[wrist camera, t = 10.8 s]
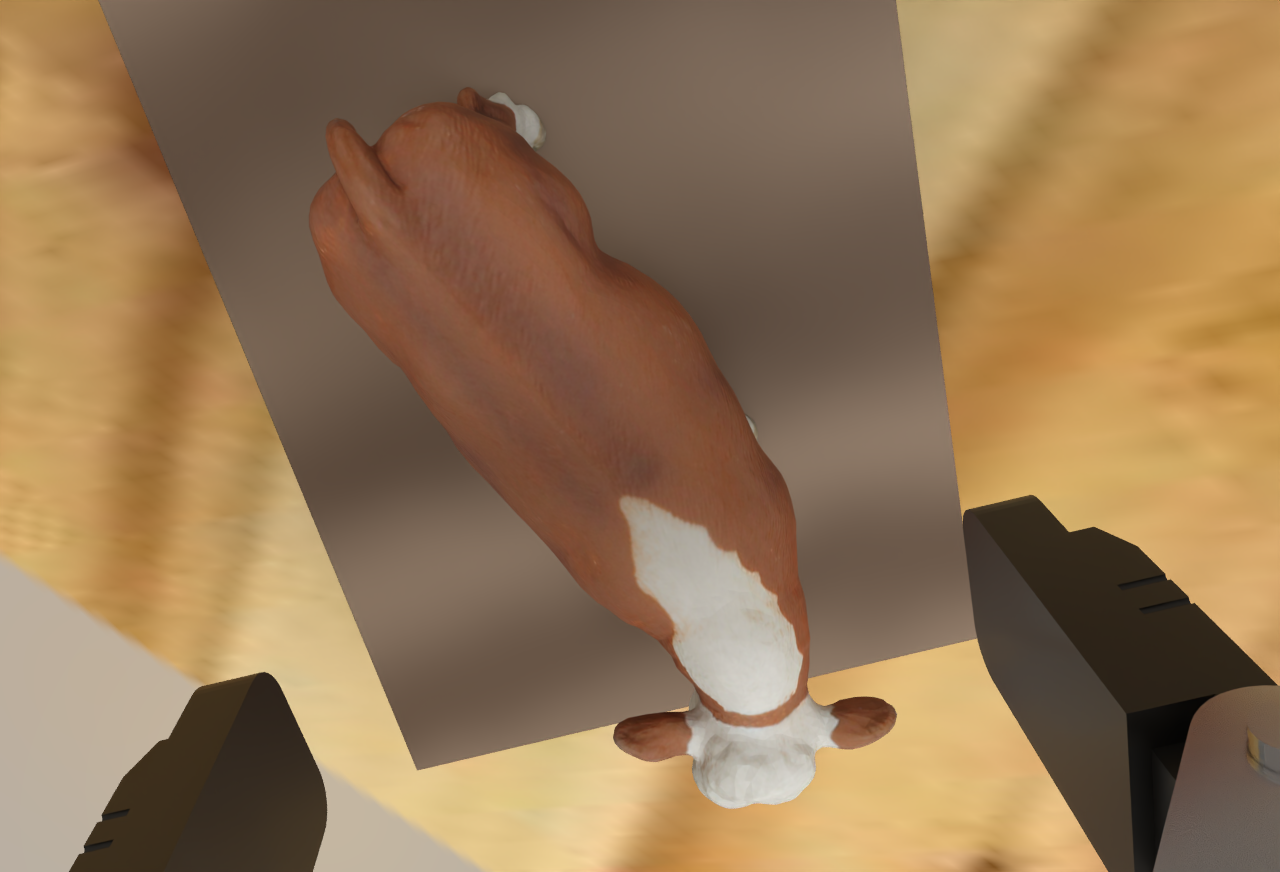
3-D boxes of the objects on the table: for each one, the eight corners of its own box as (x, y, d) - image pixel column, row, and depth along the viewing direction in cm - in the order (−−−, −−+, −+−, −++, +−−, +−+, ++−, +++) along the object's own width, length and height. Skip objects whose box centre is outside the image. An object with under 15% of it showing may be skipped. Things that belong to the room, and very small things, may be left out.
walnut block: (205, -4, 24) (96, -6, 18) (797, -161, 23) (868, -211, 18) (444, 632, 31) (417, 770, 25) (902, 522, 30) (977, 638, 25)
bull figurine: (674, 640, 24) (721, 925, 17) (328, 131, 19) (175, 213, 12) (840, 554, 24) (966, 811, 16) (525, 5, 19) (497, 8, 11)
